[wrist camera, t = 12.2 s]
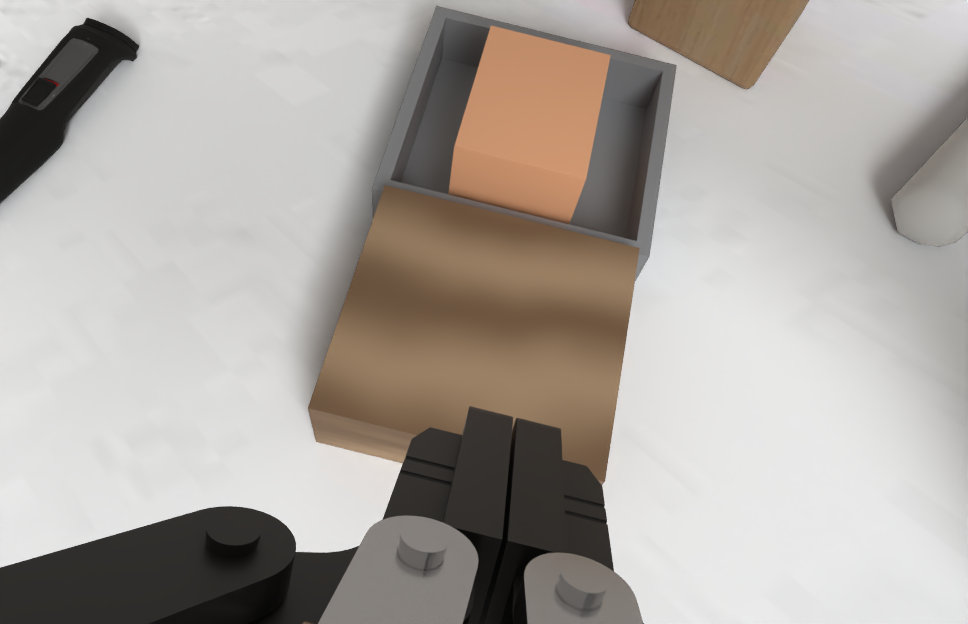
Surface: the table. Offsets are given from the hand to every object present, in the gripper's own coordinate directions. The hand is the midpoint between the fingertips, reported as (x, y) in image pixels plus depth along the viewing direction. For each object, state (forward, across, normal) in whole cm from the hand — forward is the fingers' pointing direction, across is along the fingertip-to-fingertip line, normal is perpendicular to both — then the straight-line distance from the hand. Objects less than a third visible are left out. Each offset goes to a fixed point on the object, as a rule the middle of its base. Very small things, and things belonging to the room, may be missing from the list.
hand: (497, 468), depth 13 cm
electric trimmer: (+36, +29, +4) cm, 46 cm away
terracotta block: (+33, +1, +1) cm, 33 cm away
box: (+40, +1, 0) cm, 40 cm away
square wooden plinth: (+30, +1, +10) cm, 31 cm away
